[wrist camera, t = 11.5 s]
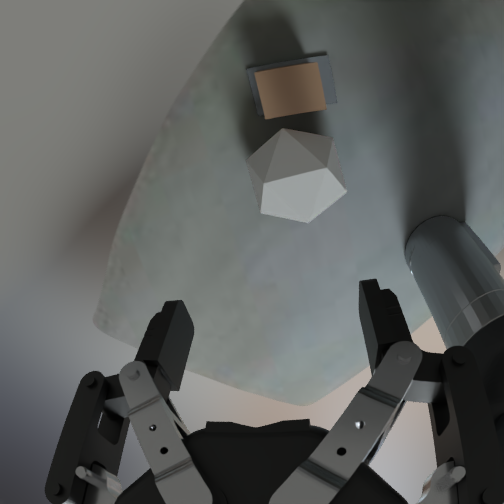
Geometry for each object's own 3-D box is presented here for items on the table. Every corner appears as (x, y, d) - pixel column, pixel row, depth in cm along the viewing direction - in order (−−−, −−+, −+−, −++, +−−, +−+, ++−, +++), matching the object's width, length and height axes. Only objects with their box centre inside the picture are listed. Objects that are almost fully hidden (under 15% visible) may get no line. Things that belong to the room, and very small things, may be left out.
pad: (327, 55, 25) (328, 55, 25) (336, 102, 28) (337, 102, 28) (246, 68, 27) (246, 68, 26) (258, 115, 30) (258, 115, 29)
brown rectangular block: (309, 62, 26) (317, 62, 21) (316, 100, 28) (326, 109, 23) (257, 71, 27) (254, 72, 22) (266, 109, 29) (265, 119, 24)
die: (233, 157, 33) (245, 243, 30) (263, 97, 25) (285, 192, 22) (302, 164, 36) (322, 243, 33) (342, 114, 28) (375, 201, 25)
